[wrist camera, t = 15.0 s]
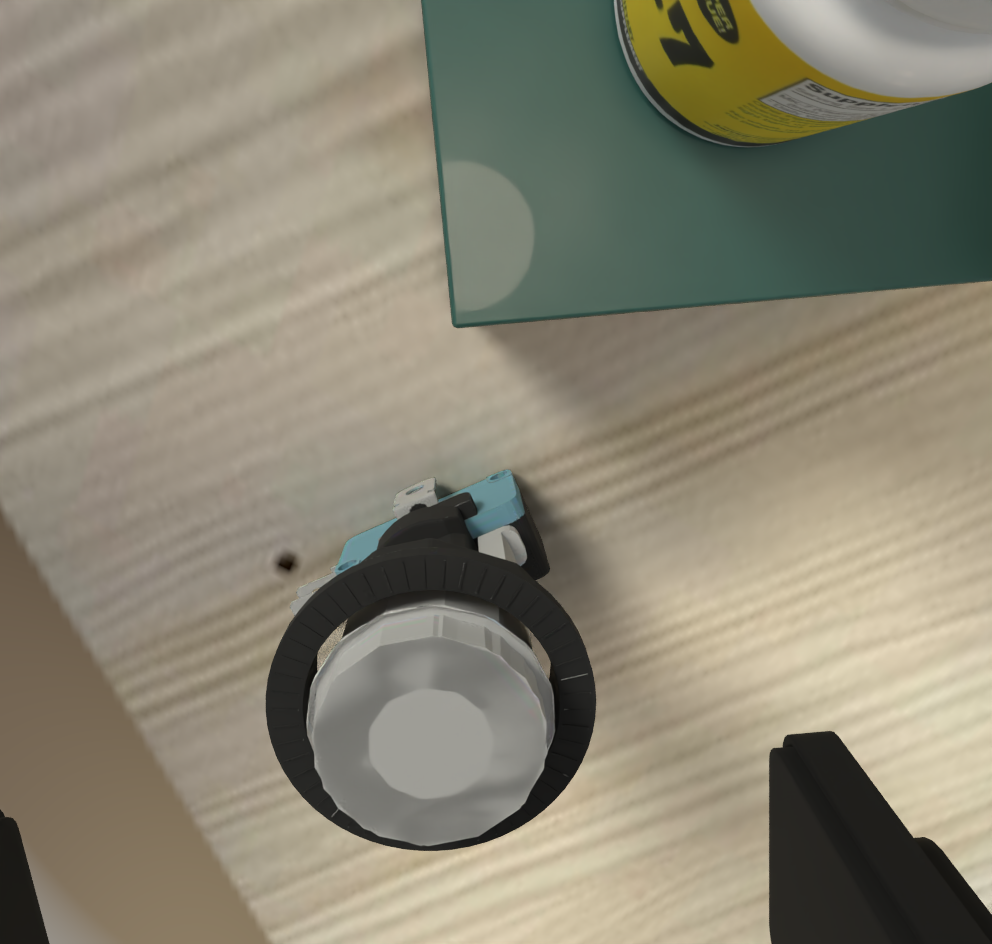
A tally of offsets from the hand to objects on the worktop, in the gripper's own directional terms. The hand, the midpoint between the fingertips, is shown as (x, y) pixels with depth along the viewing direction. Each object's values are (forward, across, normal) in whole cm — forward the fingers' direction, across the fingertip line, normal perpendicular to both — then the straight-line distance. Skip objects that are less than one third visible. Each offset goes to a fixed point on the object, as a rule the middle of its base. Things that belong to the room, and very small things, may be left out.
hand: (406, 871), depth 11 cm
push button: (+13, +1, 0) cm, 13 cm away
